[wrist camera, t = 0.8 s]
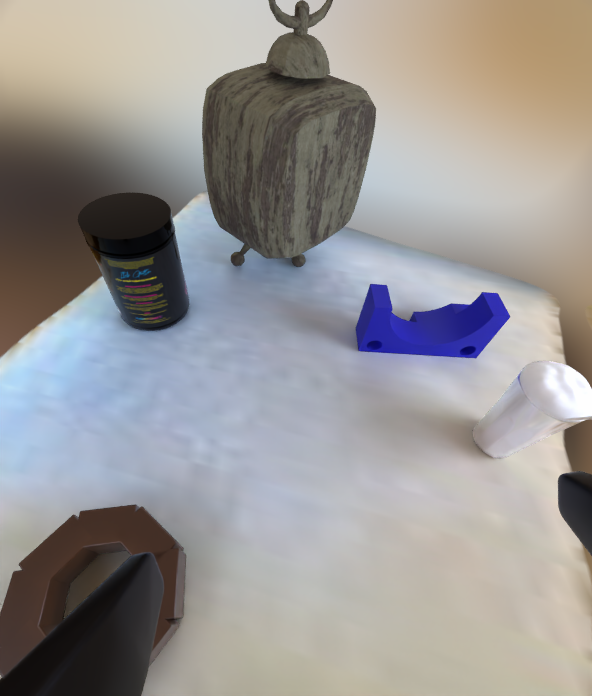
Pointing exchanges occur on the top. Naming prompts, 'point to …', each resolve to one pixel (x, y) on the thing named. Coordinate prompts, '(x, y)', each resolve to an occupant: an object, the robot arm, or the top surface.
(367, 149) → the tabletop clock
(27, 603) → the walnut ring
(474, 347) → the blue notched block
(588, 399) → the milkshake
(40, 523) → the top surface
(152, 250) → the supplement container
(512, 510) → the top surface
